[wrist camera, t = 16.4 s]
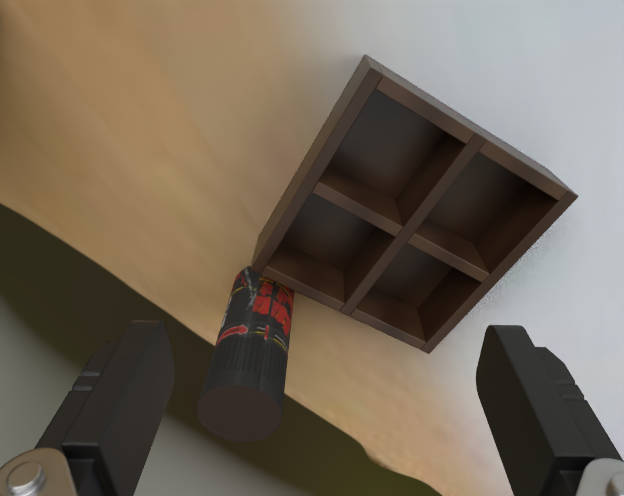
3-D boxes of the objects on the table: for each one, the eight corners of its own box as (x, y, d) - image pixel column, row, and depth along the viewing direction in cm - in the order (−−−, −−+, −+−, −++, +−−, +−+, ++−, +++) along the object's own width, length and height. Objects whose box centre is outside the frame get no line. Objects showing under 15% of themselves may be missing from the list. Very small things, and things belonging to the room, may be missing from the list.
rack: (258, 237, 42) (249, 269, 38) (364, 54, 34) (370, 66, 30) (418, 316, 47) (429, 354, 42) (548, 169, 38) (579, 196, 34)
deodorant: (294, 313, 47) (282, 443, 34) (236, 312, 47) (201, 440, 34) (294, 264, 44) (280, 386, 31) (231, 263, 44) (192, 383, 31)
